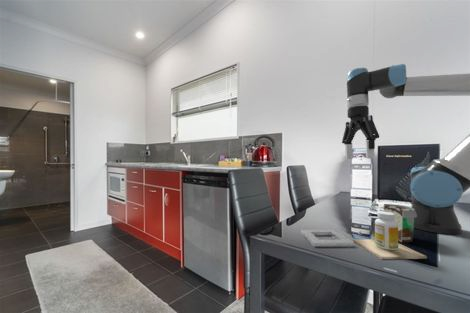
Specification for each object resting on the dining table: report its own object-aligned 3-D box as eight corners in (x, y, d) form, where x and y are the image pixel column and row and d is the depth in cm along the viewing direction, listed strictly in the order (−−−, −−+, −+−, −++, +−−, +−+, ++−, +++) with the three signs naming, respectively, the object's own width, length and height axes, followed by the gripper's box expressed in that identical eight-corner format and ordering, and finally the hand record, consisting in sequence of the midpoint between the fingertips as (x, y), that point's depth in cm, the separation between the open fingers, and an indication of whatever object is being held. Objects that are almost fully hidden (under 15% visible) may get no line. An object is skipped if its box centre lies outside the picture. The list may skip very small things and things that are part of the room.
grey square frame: (333, 232, 72) (333, 229, 72) (354, 246, 60) (354, 242, 60) (300, 233, 72) (300, 229, 72) (314, 246, 60) (314, 242, 60)
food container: (428, 245, 61) (427, 212, 62) (404, 244, 62) (403, 211, 63) (403, 232, 73) (402, 204, 74) (383, 231, 74) (383, 203, 75)
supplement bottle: (397, 246, 59) (397, 212, 59) (399, 252, 55) (398, 216, 55) (375, 241, 62) (374, 209, 63) (374, 247, 58) (374, 213, 58)
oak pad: (390, 241, 65) (390, 239, 65) (426, 258, 53) (426, 256, 53) (353, 241, 64) (353, 239, 64) (381, 259, 52) (381, 256, 52)
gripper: (333, 114, 97) (334, 159, 96) (369, 97, 72) (370, 157, 71) (349, 114, 97) (349, 159, 96) (390, 97, 72) (391, 157, 71)
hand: (358, 158), depth 84 cm, fingers open, 13 cm apart
